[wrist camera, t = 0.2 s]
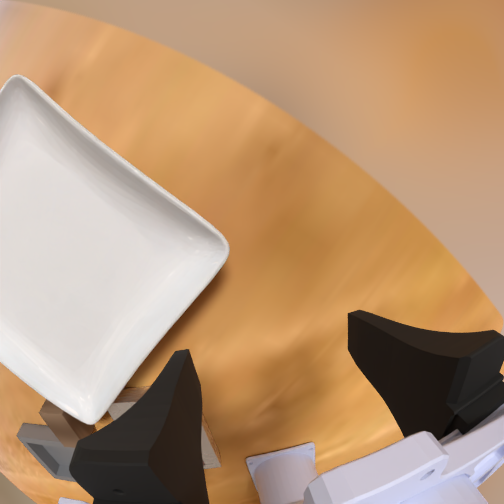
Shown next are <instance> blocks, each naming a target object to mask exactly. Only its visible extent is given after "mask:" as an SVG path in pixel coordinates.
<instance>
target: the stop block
mask: <svg viewBox="0 0 504 504" xmlns="http://www.w3.org/2000/svg"><path fill="white" fill-rule="evenodd" d="M39 414H40V415H41V417H42V418H43V420H44V421H45V422H46V424H47V425H48V426H49V428H50V429H51V430H52V432H53V433H54V434H55V436H56V437H57V438H58V439H59V441H60V442H61V443H62V444H63V446H64V447H72V448H75V447H76V444H77V442H78V440H80V439H83V438H85V437H87V436H89V435H91V434H92V432H93V429H94V426H95V425H94V424H93V425H89V424H86V423H84V422H82V421H80V420H78V419H76V418H75V417H73V416H71V415H70V414H68V413H67V412H65V411H63V410H62V409H60V408H59V407H57V406H56V405H55V404H53V403H52V402H50V401H49V400H47V399H46V401H45V402H44V404H43V406H42V408H41V410H40V412H39Z"/></svg>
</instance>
